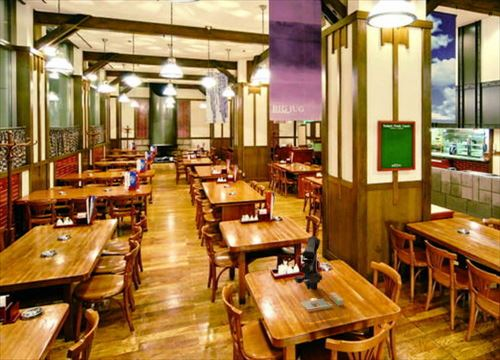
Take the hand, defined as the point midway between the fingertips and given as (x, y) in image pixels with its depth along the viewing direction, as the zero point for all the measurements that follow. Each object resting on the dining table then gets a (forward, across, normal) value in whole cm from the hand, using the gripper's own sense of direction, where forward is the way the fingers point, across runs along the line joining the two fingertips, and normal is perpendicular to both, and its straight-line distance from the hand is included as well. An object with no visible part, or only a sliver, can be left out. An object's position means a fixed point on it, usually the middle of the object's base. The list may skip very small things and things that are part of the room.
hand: (308, 289), depth 244 cm
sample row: (+11, +20, -4) cm, 23 cm away
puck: (+10, +4, -2) cm, 11 cm away
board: (+11, +4, -4) cm, 13 cm away
